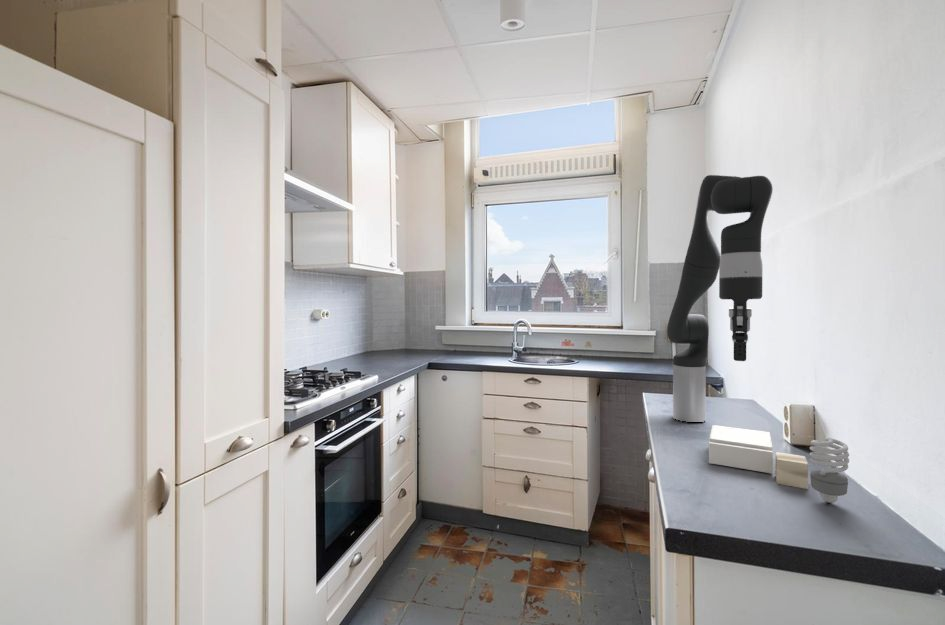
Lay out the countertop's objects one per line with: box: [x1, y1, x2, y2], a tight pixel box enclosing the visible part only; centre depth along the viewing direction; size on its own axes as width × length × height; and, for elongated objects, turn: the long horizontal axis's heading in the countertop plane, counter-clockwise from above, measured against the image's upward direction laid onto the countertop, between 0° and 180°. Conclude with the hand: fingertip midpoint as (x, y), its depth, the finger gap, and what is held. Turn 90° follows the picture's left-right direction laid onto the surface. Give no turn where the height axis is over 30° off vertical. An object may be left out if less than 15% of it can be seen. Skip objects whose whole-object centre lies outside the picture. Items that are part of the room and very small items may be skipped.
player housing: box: [708, 424, 773, 451], centre depth 102 cm, size 13×12×6 cm
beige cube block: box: [774, 451, 809, 490], centre depth 89 cm, size 5×5×5 cm
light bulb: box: [809, 436, 850, 504], centre depth 79 cm, size 6×6×12 cm
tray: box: [708, 441, 774, 474], centre depth 101 cm, size 13×12×5 cm
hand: (739, 360), depth 89 cm, fingers closed
